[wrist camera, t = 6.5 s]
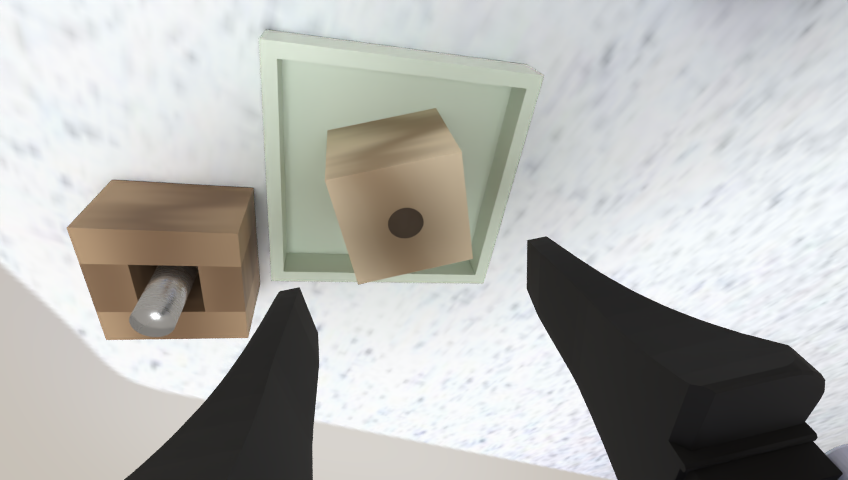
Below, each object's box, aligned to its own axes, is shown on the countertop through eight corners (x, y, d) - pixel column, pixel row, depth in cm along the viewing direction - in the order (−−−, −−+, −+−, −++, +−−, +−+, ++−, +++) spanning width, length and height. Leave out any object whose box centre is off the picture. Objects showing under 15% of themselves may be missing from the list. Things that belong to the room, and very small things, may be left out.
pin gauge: (209, 224, 21) (171, 307, 17) (212, 250, 22) (178, 336, 17) (173, 223, 21) (124, 307, 16) (178, 249, 22) (133, 337, 17)
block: (435, 107, 20) (462, 151, 16) (448, 201, 23) (473, 258, 18) (327, 130, 19) (324, 180, 15) (354, 222, 22) (358, 284, 18)
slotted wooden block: (253, 188, 21) (237, 233, 18) (260, 284, 24) (248, 337, 21) (111, 179, 19) (66, 227, 16) (139, 282, 23) (106, 339, 19)
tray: (527, 64, 20) (544, 75, 18) (473, 262, 26) (483, 283, 24) (266, 29, 17) (258, 39, 15) (275, 257, 23) (271, 280, 22)
